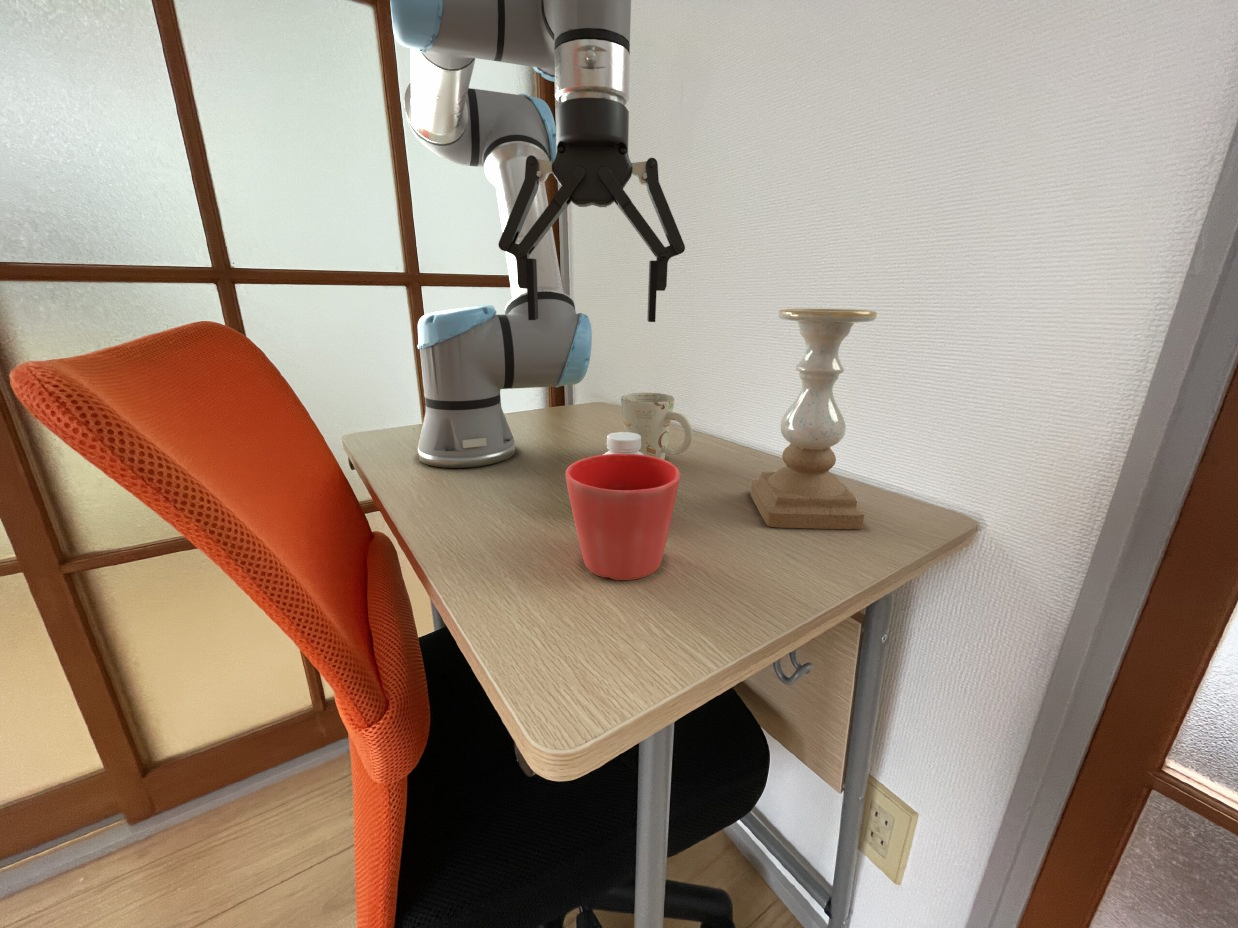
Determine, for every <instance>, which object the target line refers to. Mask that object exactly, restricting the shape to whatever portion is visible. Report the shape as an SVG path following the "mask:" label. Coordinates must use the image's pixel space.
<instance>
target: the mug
mask: <svg viewBox="0 0 1238 928" xmlns="http://www.w3.org/2000/svg"><path fill="white" fill-rule="evenodd" d="M620 403H621V404H620V405H621V413H622V421H623V422H622V423H623V428H624V429H623V430H624V431H623V432H631V433H636V434H639V435H640V436H641V448H640V449H639V452H641V453H642V454H643V455H647V456H652V457H657V458H660V459H663V460H666V455H669V456H670V455H671V456H678V455H681V454H684V453H685V452H686V451H687V450H689V448H690V447H691V444H692V443H693V438H694V437H693V436H694V433H693V428H692V425H691V423H690V421H689V420H688V418H687V417H686V415H684V414H682V413H680V412H675V411H674V405H675V397H674V396H672V395H670V394H665V393H659V392H633V393H626V394H623V395H622V396H621V397H620ZM672 421H676V422H678V423H679V424H680V425H681V426H682V429H683V431H684V439H683V442H682V444H681V445H680V446H679V447H678V448H676V449H674V448H673V449H672V448H669V447H667V446H668V442H669V436H670V430H671V424H672Z"/></svg>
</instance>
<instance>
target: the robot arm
mask: <svg viewBox="0 0 1238 928" xmlns="http://www.w3.org/2000/svg"><path fill="white" fill-rule="evenodd" d="M389 4H390V13H391V24H392V25H391V26H392V32H393V36H394V39H395V41H396V42H397V43H398V44H399V45H401V46H402V47H405V48H408V49H410V82H409V84H408V85H407V87H406V90H405V92H404V96H403V97H404V98H403V104H404V105H403V107H404V112H405V113H404V114H405V118H406V122H407V124H408V126H409V128H410V130H411V132H412V133H413V135H414V136H415V138H416V139H417V140H418V141H419V142H420V143H421V144H422V145H423V146H424V147H425V148H426V149H428V150H429V151H430V152H432V153H434V154H435V155H437V156H438V157H440V158H442V159H443V160H445V161H448V162H450V163H452V164H456V165H460V166H466V167H467V166H468V167H478V168H483V170H484V174H485V177H486V179H487V180H488V181H489V183H491V185H493V187H495V191H496V198H497V205H498V211H499V218H500V224H501V231H502V234H501V236H500V238H499V240H498V248H499V250H501V251H502V252H505V259H506V264H507V271H508V279H509V285H510V293H511V299H510V300H509V301H508V302H507V304H506V305H505V308H504V314H497V310H496V308H495V306H494V305H492V304H491V305H490V304H489V305H487V304H486V305H476V306H467V307H460V308H451V309H446V310H445V309H444V310H438V311H434V312H429V313H426V314H424V315H422V316H421V317H420V318H419V319H418V322H417V338H418V339H417V340H418V341H417V342H418V344H417V349H418V350H419V355H420V365H421V366H420V367H421V376H422V377H421V378H422V386H423V396H424V404H425V414H424V418H423V423H422V427H421V429H420V435H419V439H418V442H417V443H418V444H417V453H418V454H417V455H418V460H419V461H420V462H422V463H423V464H425V465H428V466H432V467H436V468H447V469H465V468H475V467H476V468H477V467H485V466H489V465H494V464H497V463H499V462H503V461H506V460H508V459H509V458H511V457H512V456H514V455H515V453H516V445H515V444H516V443H515V439H514V438H515V437H514V436H513V434H512V431H511V428H510V425H509V423H508V421H507V418H506V415H505V412H504V411H503V408H502V399H501V390H509V389H510V390H511V389H512V390H514V389H531V388H533V389H535V388H536V389H537V388H552V387H555V388H559V387H564V386H565V387H566V386H572V385H577V384H580V383H581V382H582V381H583V380H584V378H585V377H586V375H587V372H588V370H589V366H590V361H591V357H592V356H591V355H592V345H593V344H592V342H593V336H592V335H593V331H592V323H591V320H590V318H589V316H588V315H587V314H585V313H583V312H578V313H577V311H576V305H575V301H574V299H573V298H572V297H571V296H570V295H569V294H568V293H566V292H564V290H563V289H564V288H563V283H562V277H561V271H560V266H559V265H560V264H559V260H558V254H557V248H556V242H555V235H554V231H553V225H554V224H555V223H556V222H557V220H558V219H559V217H560V216H561V215H562V213H563V212H564V211H565V210H566V209H567V208H568V207H569V206H570V204H571V203H572V204H573V205H575V206H577V207H578V208H587V207H590V206H594V207H598V208H607V207H610V206H612V205H613V204H615V205H616V206H617V208H618V209H619V210H620V211H621V213H622V214H623V215H624V216H625V218H626V219H627V220H628V222H629V223H630V224H631V227H632V228H634V230H635V231H636V232H637V234H638V235H639V237H640V238H641V239H642V241H643V242H644V243H645V245H646V246H647V248H648V249H649V250H650V251H651V253H652V254H653V255H654V257H655V260H649V261H648V287H647V288H648V290H647V291H648V293H647V294H648V295H647V316H646V317H647V318H646V320H647V322H648V323H656V319H657V318H656V317H657V316H656V315H657V314H656V313H657V291H658V292H665V291H666V288H667V286H668V285H667V284H668V262H669V261H670V259H671V258H673V257H676V256H678V255H681V254H683V253H684V252H685V251H686V246H685V245H686V244H685V243H684V240H683V237H682V235H681V233H680V231H679V230H680V229H679V228H678V225H677V223H676V220H675V217H674V215H673V213H672V210H671V208H670V205H669V203H668V200H667V197H666V195H665V193H664V190H663V188H662V186H661V183H660V178H659V163H658V160H657V159H656V158H654V157H649V158H648V159H647V160H646V161H636V162H631V159H630V156H629V125H630V123H629V122H630V121H629V120H630V111H629V110H628V108H627V107H626V105H627V104H628V103H629V100H630V80H631V79H630V76H631V72H630V71H631V69H630V68H631V56H630V55H631V54H630V52H631V49H630V48H631V19H632V18H631V14H632V0H389ZM476 59H478V60H483V61H484V60H485V61H491V62H499V63H503V64H511V65H518V66H524V67H525V66H526V67H531V68H532V69H533V70H534V71H535V72H536V73H537V74H538V75H540V76H541V77H542V78H544V79H545V80H547V81H550V82H553V83H554V97H555V101H557V102H558V103H559V104H558V105H557V106H556V107H555V119H554V115H553V112H552V111H551V108H550V106H549V104H548V103H547V102H546V101H545V100H544V99H542V98H539V97H535V96H531V95H528V94H525V93H519V94H518V93H517V94H515V93H507V92H500V91H493V90H488V89H487V90H486V89H485V90H484V89H479V88H472V87H470V84H471V80H472V75H473V72H474V67H475V63H476ZM550 174H553V176H554V178H555V180H556V181H557V182H558V184H559V185H560V187H559V189H558V190H557V192H556V193H555V194H554V195H553V197H552V199H551V201H550V202H549V201H548V195H547V189H546V183H545V182H546V181H547V179H548V177H549V175H550ZM632 176H636V177H637V179H638V182H639V184H641V186H642V185H643V186H646V191H647V193H648V197H649V199H650V202H651V204H652V206H653V209H654V211H655V213H656V216H657V217H658V221H659V223H660V226H661V228H662V230H663V232H664V235H665V237H666V240H667V243H668V245H667V246H665V245H664V243H663V242H662V241H661V239H660V238H659V237H658V235H657V234H656V233H655V232H654V230H653V228H652V227H651V226H650V225H649V224H648V222H647V221H646V219H645V218H644V217H643V215H642V214H641V212H640V211H639V210H638V209H637V206H635V205H634V202H632V200H631V198H630V196H629V195H628V194H627V192H626V191H625V190H624V188H625V187H626V185H627V184H628V182H629V181H630V179H631V178H632Z"/></svg>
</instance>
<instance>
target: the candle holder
mask: <svg viewBox="0 0 1238 928" xmlns="http://www.w3.org/2000/svg"><path fill="white" fill-rule="evenodd" d="M877 317H878V312H877V311H876V310H872V309H855V308H854V309H850V308H848V309H847V308H782V309H781V308H780V309H779V311H778V318H779V320H783V321H791V322H796V323H797V324H798V328H799V329H798V330H799V333H800V335H801V336H802V338H803V340H804V343H805V352H804V354H803V357H802V358H801V360H800V361H799V362H798V363H797V365H795V370H796V371H797V372H798V374H799V375H798V376H799V378H800V381H801V386H802V387H801V390H800V392H799V394H798V396H796V397H797V398H795V400H794V401H793V403H791V405H790V407H789V408H788V409H787V410H786V411H785V413H784V414H783V416H782V418H781V421H780V423H779V424H780V425H779V430H780V433H781V435H782V437H783V438H784V439H785V441H786V442H788V443H789V445H787V446H786V447H785V448H784V450H783V451H782V455H781V458H782V461H783V463H784V464H785V466H783V467H781V468H780V469H777V470H776V471H761V472H760V473H759V476H758V479H754V480H752V481H751V487H750V498H751V500H752V501H753V503H754V505H755V507H756V509H757V510H758V512H759V515H760V516H761V518H762V520H763V521H764V523H765V524H766V526H768V527H770V528H783V529H815V530H816V529H820V530H824V529H825V530H863V527H864V519H865V513H864V512H863V511H862V510H861V509H860V507H859V506H858V500H857V498H856V496H855V495H854V493H852V491H850V489H849V488H847V487H846V485H845V484H844V483H842V481H841V480H840V479H839V478H838V477H837V476H836V475H835V474H834V473H832V472H831V471H829V470H831V469H832V468H833V467H834V466H836V463H837V458H836V457H837V456H836V454H835V453H834V451H833V450H832V447H834V446H835V445H838V444H839V443H840V442H841V441H842V440H843V439H844V437H845V436H846V429H847V428H846V427H847V424H846V421H845V419H844V416H843V413H842V411H841V410H840V408H839V406H838V404H837V402H836V399H835V395H834V392H833V390H834V389H833V388H834V385H835V383H836V382H837V380H839V376H840V375H842V374H843V373H844V372H845V367H844V366H843V364H842V362H841V359H840V356H839V350H840V347H841V344H842V342H843V341H844V340H845V339H846V338H847V337H848V336H849V334H850V333H851V330H852V327H853V326H854V324H858V323H869V322H874V321H876V319H877Z"/></svg>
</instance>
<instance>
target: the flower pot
mask: <svg viewBox="0 0 1238 928" xmlns="http://www.w3.org/2000/svg"><path fill="white" fill-rule="evenodd" d="M680 479H681V472H680V470H679V468H678V467H677V466H676V465H674V464H673V463H672V462H670V461H668V460H666V459H664V460H663V459H660V458H657V457H652V456H647V455H639V454H606V455H603V454H597V455H594V456H588V457H585V458H581V459H579V460H577V461H575V462H573V463H571V464H570V465H569V466H568V467H567V468H566V470H565V481H566V487H567V492H568V497H569V502H570V506H571V507H570V508H571V512H572V516H573V522H574V525H575V531H576V534H577V539H578V542H579V546H580V550H581V555H582V559H583V563H584V565H585V567H586V568H587V570H589V572H591V573H593V574H594V575H596V576H598V577H601V578H610V579H611V580H615V581H633V580H637V579H642V578H646V577H648V576H650V575H652V574H653V573H655V572H656V571H657V570H658V569H659V568H660V566H661V564H662V561H663V557H664V553H665V549H666V546H667V541H668V537H669V532H670V527H671V523H672V519H673V513H674V508H675V504H676V499H677V494H678V490H679V484H680Z"/></svg>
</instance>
